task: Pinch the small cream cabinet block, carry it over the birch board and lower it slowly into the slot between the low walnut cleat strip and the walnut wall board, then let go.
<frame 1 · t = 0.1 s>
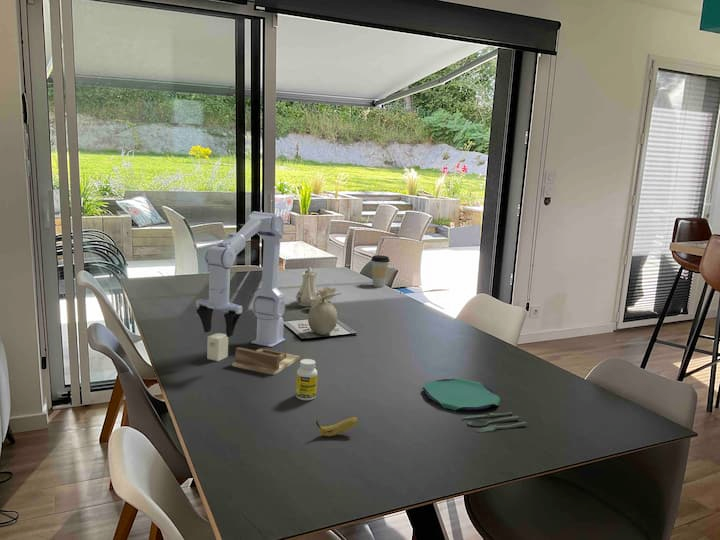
hand: (218, 333, 171), 10 cm above the table, tool pointing down, fingers open, 7 cm apart
fruit: (321, 334, 211), on the table
banana: (336, 436, 134), on the table
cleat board: (266, 362, 178), on the table
chinaware: (314, 305, 252), on the table
supplement bottle: (305, 397, 155), on the table
coffee cup: (378, 286, 299), on the table
cabinet block: (217, 357, 180), on the table
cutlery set: (469, 407, 156), on the table
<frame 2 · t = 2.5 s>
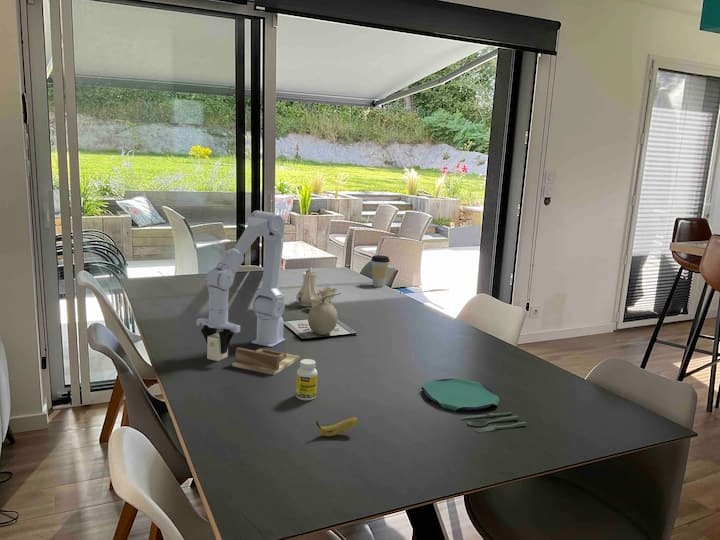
hand: (217, 351, 180), 2 cm above the table, tool pointing down, fingers closed on cabinet block, 4 cm apart
cabinet block: (217, 357, 180), on the table, touching gripper
everything else where it was.
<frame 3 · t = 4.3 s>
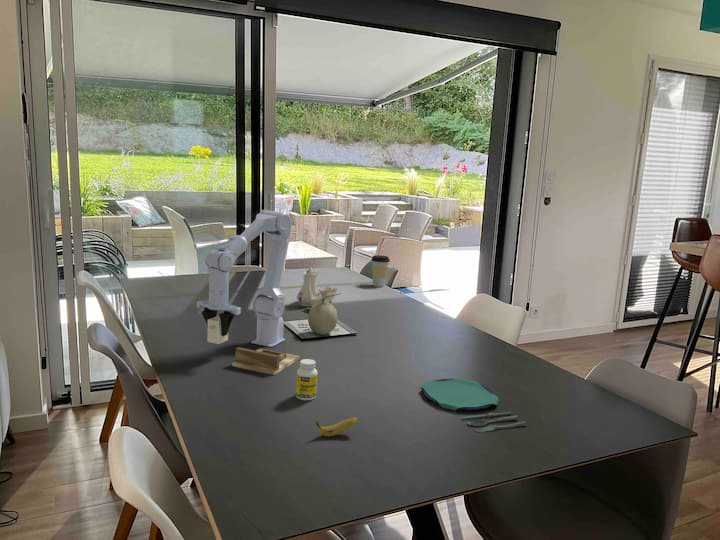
hand: (218, 333, 179), 7 cm above the table, tool pointing down, fingers closed on cabinet block, 4 cm apart
cabinet block: (217, 340, 179), point 5 cm above the table, touching gripper
everything else where it was.
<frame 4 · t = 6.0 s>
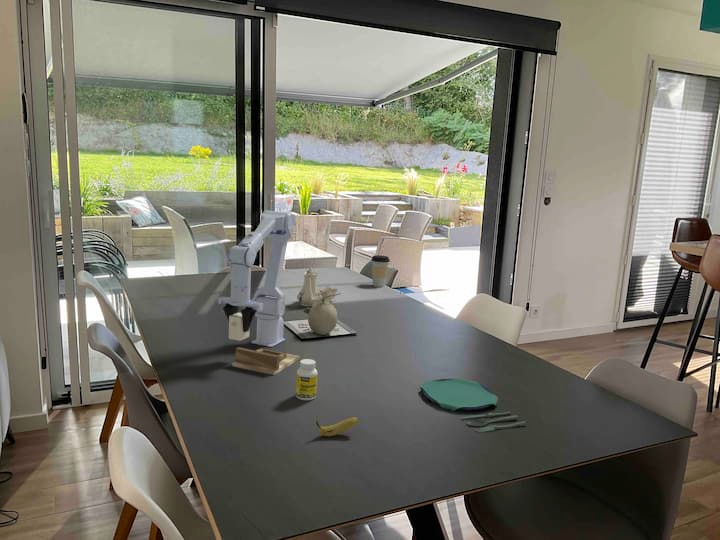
hand: (239, 330, 178), 9 cm above the table, tool pointing down, fingers closed on cabinet block, 4 cm apart
cabinet block: (239, 337, 178), point 7 cm above the table, touching gripper
everything else where it was.
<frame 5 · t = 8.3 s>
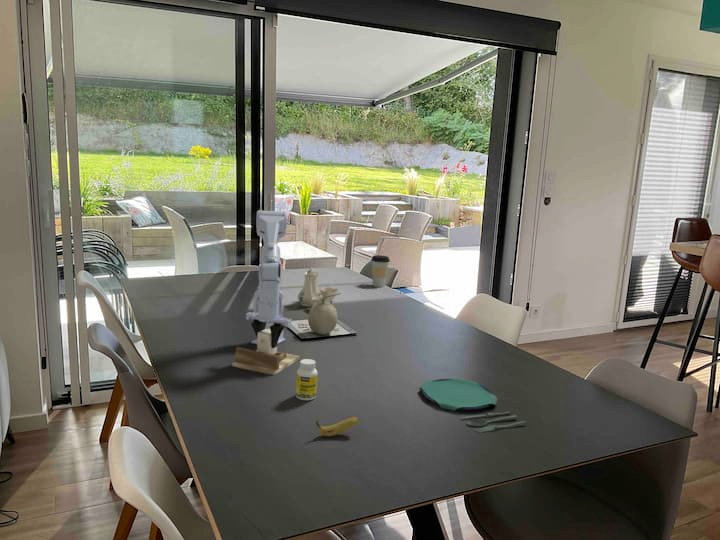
hand: (267, 345, 177), 5 cm above the table, tool pointing down, fingers closed on cabinet block, 4 cm apart
cabinet block: (267, 353, 178), point 3 cm above the table, touching gripper
everything else where it was.
when the fingers open (4 cm above the table, at t = 9.7 s): cabinet block stays where it is, resting on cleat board.
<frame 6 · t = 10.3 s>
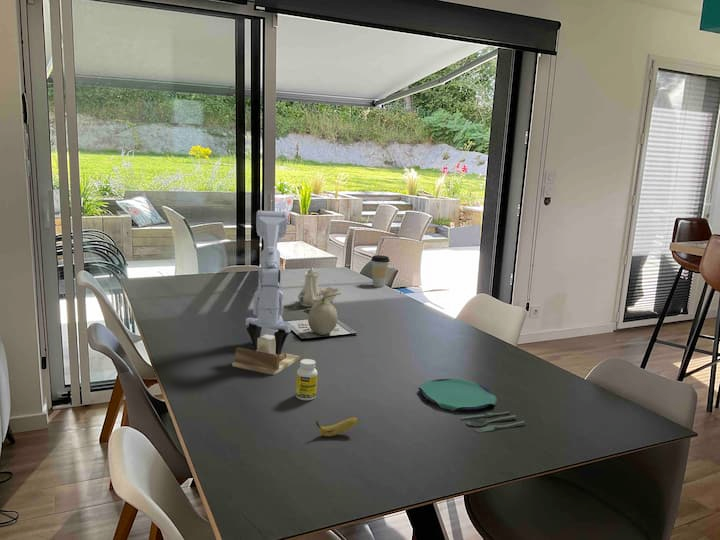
hand: (267, 351, 178), 4 cm above the table, tool pointing down, fingers open, 7 cm apart
cabinet block: (266, 359, 178), point 1 cm above the table, touching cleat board
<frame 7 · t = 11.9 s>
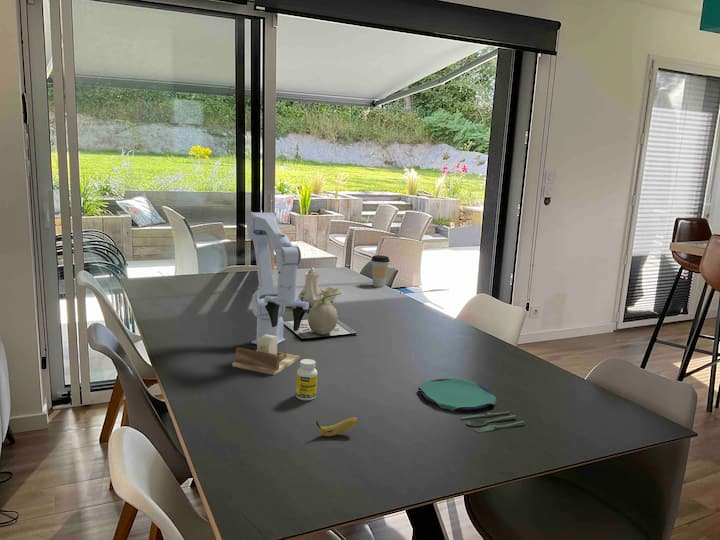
hand: (285, 328, 182), 9 cm above the table, tool pointing down, fingers open, 7 cm apart
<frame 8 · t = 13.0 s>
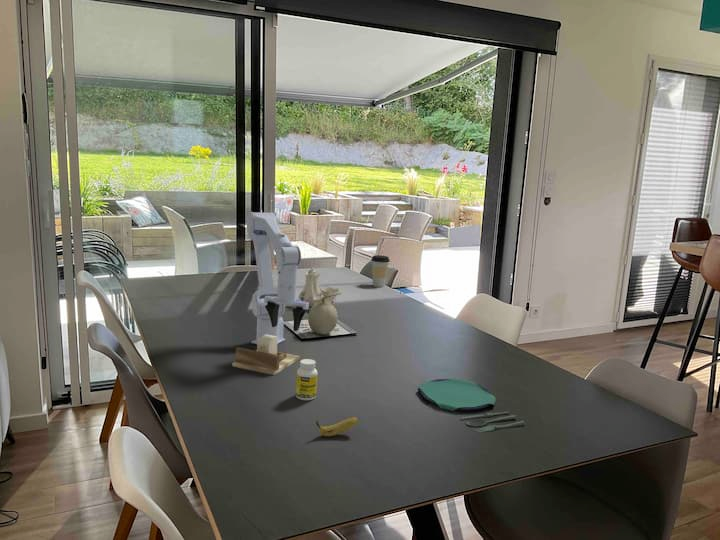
hand: (285, 328, 182), 9 cm above the table, tool pointing down, fingers open, 7 cm apart
at the end: cabinet block 0.7 cm off-centre on the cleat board, point 1.0 cm above the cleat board's base; cabinet block tilted 0°; the gripper is holding nothing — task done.
